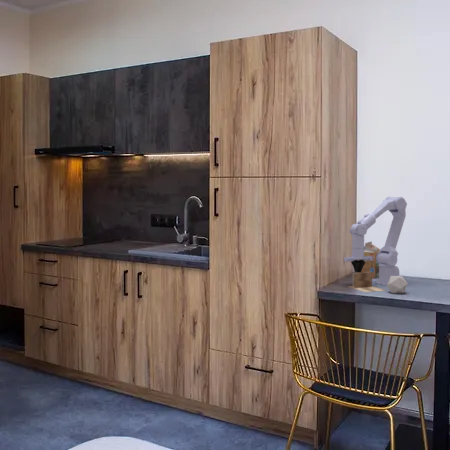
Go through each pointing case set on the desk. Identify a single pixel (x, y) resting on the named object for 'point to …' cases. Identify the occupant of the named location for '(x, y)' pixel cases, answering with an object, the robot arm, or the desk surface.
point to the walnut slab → (362, 279)
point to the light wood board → (368, 289)
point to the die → (397, 284)
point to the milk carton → (373, 264)
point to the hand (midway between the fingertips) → (358, 275)
